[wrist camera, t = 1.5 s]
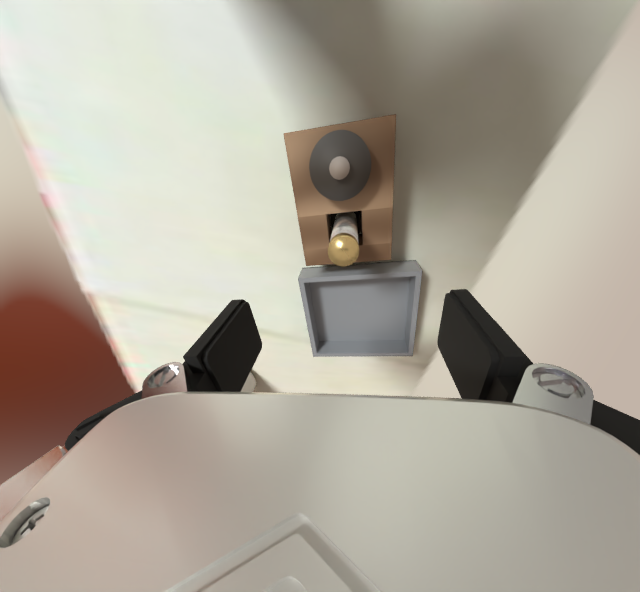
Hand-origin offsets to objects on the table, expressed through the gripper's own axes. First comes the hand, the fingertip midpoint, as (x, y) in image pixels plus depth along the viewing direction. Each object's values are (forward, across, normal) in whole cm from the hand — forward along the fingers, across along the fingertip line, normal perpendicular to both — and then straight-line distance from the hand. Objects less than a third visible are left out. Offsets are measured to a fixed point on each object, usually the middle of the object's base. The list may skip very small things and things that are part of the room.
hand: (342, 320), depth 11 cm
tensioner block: (+18, 0, -3) cm, 18 cm away
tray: (+18, -1, +11) cm, 21 cm away
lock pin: (+18, 0, -1) cm, 18 cm away
